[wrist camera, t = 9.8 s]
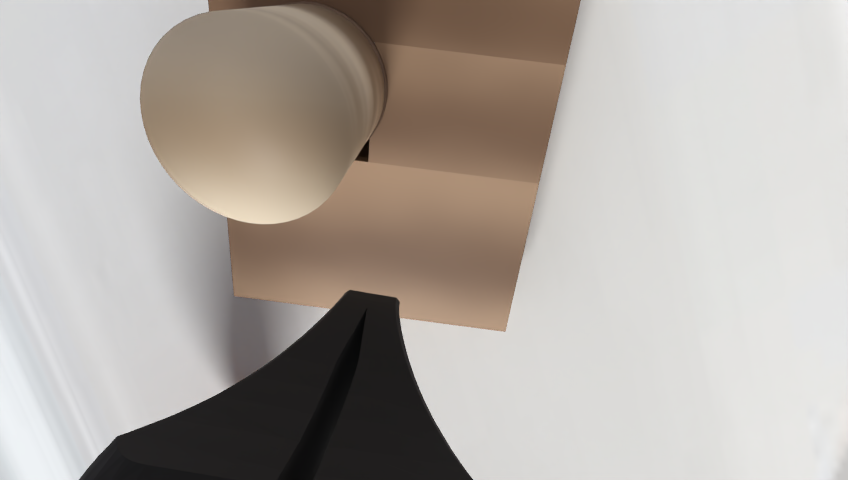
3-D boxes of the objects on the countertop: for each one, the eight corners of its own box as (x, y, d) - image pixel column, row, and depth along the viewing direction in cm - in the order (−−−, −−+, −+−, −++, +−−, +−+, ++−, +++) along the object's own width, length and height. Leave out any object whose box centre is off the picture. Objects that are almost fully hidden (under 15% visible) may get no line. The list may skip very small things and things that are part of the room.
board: (240, -70, 18) (201, -80, 15) (569, -31, 18) (588, -35, 15) (259, 262, 24) (234, 295, 22) (500, 293, 24) (505, 331, 21)
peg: (263, -10, 18) (122, -9, 11) (403, 10, 18) (361, 26, 11) (266, 129, 21) (152, 210, 13) (390, 148, 21) (347, 239, 13)
